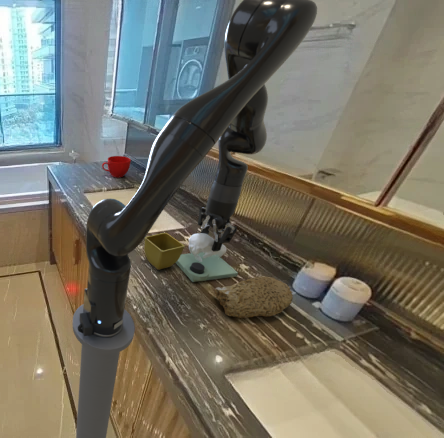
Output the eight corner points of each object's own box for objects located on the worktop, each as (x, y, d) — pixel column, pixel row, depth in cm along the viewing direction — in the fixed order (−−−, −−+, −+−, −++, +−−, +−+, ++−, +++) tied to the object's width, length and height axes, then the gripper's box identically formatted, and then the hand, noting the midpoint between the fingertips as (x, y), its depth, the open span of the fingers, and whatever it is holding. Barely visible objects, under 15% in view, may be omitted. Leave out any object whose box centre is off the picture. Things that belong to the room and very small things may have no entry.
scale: (191, 285, 84) (193, 277, 83) (168, 259, 95) (169, 251, 94) (239, 279, 86) (243, 271, 85) (211, 253, 98) (213, 246, 96)
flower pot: (161, 253, 98) (166, 231, 94) (179, 268, 91) (185, 245, 87) (140, 259, 95) (144, 236, 91) (157, 275, 88) (162, 251, 84)
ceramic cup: (96, 174, 169) (97, 157, 165) (121, 171, 174) (123, 155, 169) (106, 181, 159) (107, 164, 154) (133, 178, 163) (135, 161, 158)
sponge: (231, 329, 72) (315, 316, 70) (230, 303, 69) (317, 289, 67) (206, 299, 84) (276, 287, 82) (205, 276, 82) (277, 264, 80)
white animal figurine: (190, 229, 90) (225, 230, 91) (182, 250, 94) (216, 252, 95) (200, 239, 85) (237, 241, 86) (191, 262, 89) (226, 264, 90)
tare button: (194, 274, 84) (196, 270, 83) (187, 267, 87) (189, 262, 86) (205, 273, 85) (207, 268, 84) (198, 266, 88) (199, 261, 87)
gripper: (254, 206, 76) (235, 257, 84) (218, 186, 89) (205, 232, 97) (229, 208, 75) (212, 260, 83) (196, 188, 88) (185, 234, 96)
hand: (208, 245), depth 90 cm, fingers closed on white animal figurine, 5 cm apart
